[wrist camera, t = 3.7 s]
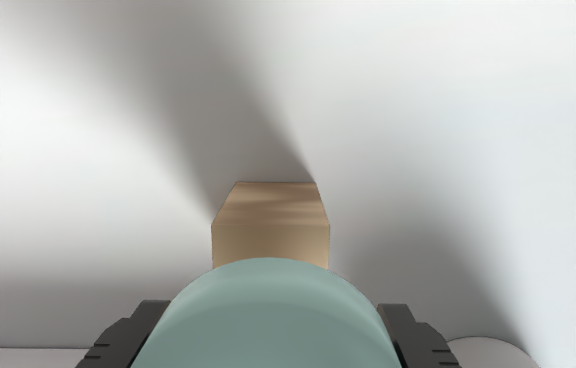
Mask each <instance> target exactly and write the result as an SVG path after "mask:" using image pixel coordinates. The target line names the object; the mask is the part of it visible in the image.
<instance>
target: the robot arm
mask: <svg viewBox="0 0 576 368" xmlns="http://www.w3.org/2000/svg"><path fill="white" fill-rule="evenodd" d="M170 303H171V301H170V300H144V301H142V302H141V304H140V305H139V306H138V308H137V309H136V310H135V312H134V313H133V314H132V316H131V317H130V318H122V319H120V320H119V321H117V322H116V323H114V324H113V325H112V326H110V327H109V328H107V329H106V330H105V331H104V332H103V333H102V335H101V336H100V337H99V338H98V340H97V341H96V342H95V343H94V346H93V347H91V348H90V349H89V351H88V352H87V353H86V354H85V356H84V359H81V361H80V362H79V363H78V364H77V365H76V367H75V368H130V367H131V366H132V364H133V362H134V361H135V359H136V357H137V356H138V354H139V352H140V351H141V349H142V348H143V346H144V344H145V343H146V341H147V339H148V338H149V336H150V334H151V333H152V331H153V330H154V328H155V326H156V325H157V323H158V321H159V320H160V318H161V317H162V315H163V313H164V312H165V310H166V309H167V307H168V306H169V304H170ZM377 312H378V314H379V315H380V317H381V319H382V321H383V323H384V325H385V327H386V329H387V332H388V334H389V337H390V339H391V342H392V344H393V347H394V349H395V352H396V354H397V357H398V359H399V362H400V364H401V367H402V368H462V367H461V366H459V362H458V360H457V359H456V357H455V356H454V354H453V353H451V349H450V348H449V346H448V344H447V343H446V341H445V340H444V338H443V336H442V335H441V334H440V333H438V332H437V331H436V330H435V329H433V328H432V327H431V326H430V325H429V324H427V323H416V321H415V319H414V317H413V315H412V314H411V312H410V310H409V308H408V307H407V305H406V304H379V305H378V308H377Z"/></svg>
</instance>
